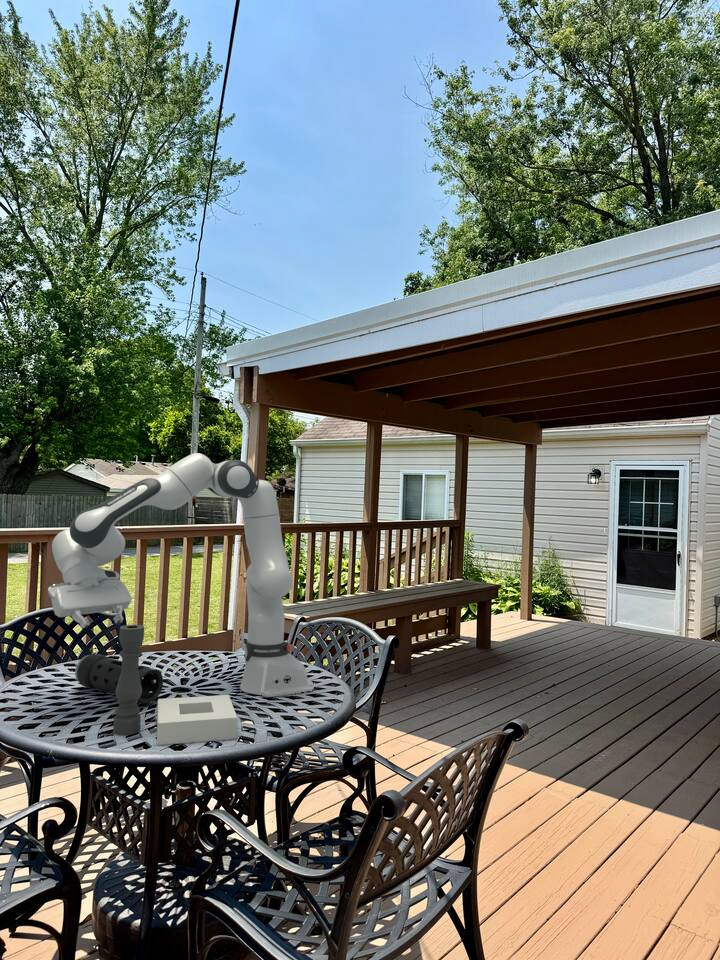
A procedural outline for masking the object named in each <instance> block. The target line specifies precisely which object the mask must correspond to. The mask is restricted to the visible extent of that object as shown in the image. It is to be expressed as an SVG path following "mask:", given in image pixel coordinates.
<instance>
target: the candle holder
mask: <svg viewBox="0 0 720 960" xmlns="http://www.w3.org/2000/svg"><path fill="white" fill-rule="evenodd" d="M118 637H119V639H118V640H119V642H120V643H119V644H120V646H121V648H122V650H121V651H119V656H120V657H121V661H122V670H121V674H120V677H119V681H118V684H117V687H116V692H115V694H116V695H115V697H116V700H117V701H118V704H119V706H118V707H117V708H116V709H115V716H114V717H113V729H112V733H113V734H115V735H116V734H117V736H129V735H131V736H132V735H134V734H137V733H139V732H140V731H141V723H142V722H141V720H142V719H141V718H142V716H141V713H140V712H141V708H140V707H139V706H138V705H139V704H138V703H137V702H138V699H139V698H140V696H141V694H142V687H141V682H140V676H139V671H138V665H139V664H140V663H139V662H140V660H139V659H140V657H141V655H143V651H142V649H140V648H141V646H142V644H143V641H144V639H145V625H142V624H125V625H121V626H120V627H119V635H118ZM139 666H140V665H139Z"/></svg>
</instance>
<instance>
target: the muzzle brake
mask: <svg viewBox="0 0 720 960" xmlns="http://www.w3.org/2000/svg"><path fill="white" fill-rule="evenodd" d="M121 670H122V660H119V659H114V658H109V656H106V655H103V654H99V653H92V654H88V655H85V656H83V657H82V658H81V659H80V660H79V661H78V662H77V664H76V666H75V669H74V676H75V679H76V680H77V681H78V683H79V684H80V685H81V686H82V687H85V688H89V689H91V690H97V693H99V692H100V693H99V694H102V693H104V694H103V695H107V694H106V693H108V694H112V695H115V696H116V694H115V692H116V687H117V684H118V681H119V677H120V674H121ZM138 671H139V676H140V682H141V687H142V694H141V696H140V698H139V699H138V702H137V703H136V704H138V703H141V704H144V705H148V706H150V705H151V703H152V702H154V701H155V700H156V699H158V697H159V696H160V694H161V692H162V691H163V686H164V678H163V675H162V673H161V672H160V671H159V670H157V669H154V668H151V667H146V666H143V665H138ZM141 704H140V705H141ZM149 704H150V705H149ZM144 705H143V706H144Z"/></svg>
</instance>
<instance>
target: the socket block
mask: <svg viewBox="0 0 720 960" xmlns="http://www.w3.org/2000/svg"><path fill="white" fill-rule="evenodd" d="M237 727H238V716H237V714H236V711H235V709H234V705H233V703H232V700H231V697H230V695H229V694H222V695H207V696H205V695H204V696H191V697H189V696H188V697H187V696H185V697H174V698H173V697H172V698H170V697H168V698H157V712H156V746H163V745H164V746H165V745H174V744H175V745H176V744H188V743H191V744H192V743H203V742H212V741H213V742H214V741H225V740H226V741H227V740H228V741H229V740H237V731H238V730H237V729H238V728H237Z"/></svg>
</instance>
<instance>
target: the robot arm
mask: <svg viewBox="0 0 720 960" xmlns="http://www.w3.org/2000/svg"><path fill="white" fill-rule="evenodd" d="M206 489H207V490H209V491H210V492H212V493H214V495H216V496H217V497H221V498H222V497H223V498H236V499H237V500H238V501H239V503H240V505H241V508H242V518H243V527H244V536H245V544H246V548H247V550H248V555H249V559H250V564H249V566H248V567H247V569H246V575H245V576H246V579H245V580H246V599H247V611H248V614H247V615H248V621H247V640H246V641H245V646H244V660H245V665H244V671H243V674H242V675H243V676H242V679H241V682H240V685H239V690H241V691H243V692H244V693H247V694H252V695H259V696H261V695H262V696H261V697H266V698H272V697H279V696H287V695H294V694H295V693H296V694H302V693H301V692H304V693H307V692H306V691H311V692H313V691H314V690H315V685H314V683H313V681H312V680H311V679H309V678H308V675H307V670H306V666H304V664H303V663H302V662H301V661H299V660H298V659H297V658H296V657H295V656H293V655H292V654H291V653H292V652H293V651H294V646H293V644H291V643H289V642H287V641H285V640H284V638H285V637H284V636H285V619H286V618H285V611H284V606H283V597H285V596H286V595H287V594H288V593H290V591H291V589H292V586H293V577H292V574H291V571H290V567H289V563H288V556H287V554H286V550H285V549H286V548H285V546H284V543H283V542H284V541H283V536H282V526H281V516H280V510H279V504H278V499H277V496H276V495H277V494H276V492H275V489H274V487H273V485H272V484H271V483H270V482H269V481H267V480H265V479H264V480H263V479H259V478H258V477H257V476H256V474H255V472H254V471H253V469H252V468H251V467H250V465H249V464H248V463H247V462H245V461H243V460H239V459H232V460H231V459H230V460H229V459H227V460H224V461H221V462H219V463H214V462H212V461H211V459H210V457H208V456H206V455H205V454H202V453H200V452H199V453H198V452H194V453H191V454H189V455H187V456H185V457H184V458H182V459H180V460H178V461H177V462H175V463H174V464H172V465H170V466H169V467H168V468H166V469H165V470H164V471H162V472H161V473H159V474H157V475H155V476H153V477H151V478H150V477H149V478H144V479H142V480H139V481H137V482H136V483H134V484H132V485H130V486H129V487H127V488H125V489H124V490H122V491H120V492H119V493H117V494H115V495H113V496H111V498H108V499H107V500H105V501H104V502H102V503H100V504H98V505H97V504H96V505H95V506H93V507H90V508H89V507H88V508H86V509H85V510H83V511H81V512H79V513H78V514H77V515H75V517H74V518H73V519H72V521H71V524H70V525H69V528H67V529H65V530H62V531H60V532H58V534H56V536H55V537H54V538H53V539H52V542H51V551H52V554H53V558H54V561H55V563H56V566H57V568H58V570H59V571H60V573H62V580H63V583H62V582H61V583H54V584H51V585H50V586H49V587H48V588H47V593H48V595H49V597H50V599H51V604H52V609H53V612H54V615H55V616H57V617H58V618H65V617H71V618H72V620H73V621H75V622H76V623H77V624H79V626H80V628H81V629H85V628H88V627H89V626H90V625H91V623H90V621H89V618H87V617H86V618H85V617H84V616H83V615H89V614H90V615H91V614H96V613H104V612H112V611H113V613H114V614H115V616H114V617H113V621H114V623H115V624H120V623H123V621H124V617H123V614H122V613H123V610H126V609H127V608H128V607H129V606H130V604H131V602H132V600H133V599H132V595H131V593H130V591H129V589H128V587H127V586H126V584H125V583H124V582H123V581H122V580H121V579H120V574H119V572H117V571H114V570H109V569H105V568H102V567H100V566H103V565H105V564H109V563H111V562H114V561H115V560H116V559H118V558H119V557H120V556H122V554H123V553H124V552H125V551H124V550H125V548H126V542H127V541H126V540H125V539H126V538H125V537H124V536H123V534H122V533H121V532H120V531H119V529H118V528H117V527H116V526H115V524H116V523H117V522H118V521H120V520H121V519H123V518H125V517H126V516H127V515H129V514H130V513H132V512H134V511H136V510H137V509H139V508H141V507H145V506H153V507H157V508H159V509H162V510H167V511H169V510H170V511H172V510H176V509H178V508H181V507H182V506H184V505H186V504H187V503H188V502H189V501H191V500H192V499H193V498H194V497H195V496H196V495H197V494H199V493H201V491H202V492H203V490H206ZM313 689H314V690H313ZM312 690H313V691H312ZM296 694H295V695H296Z"/></svg>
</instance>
